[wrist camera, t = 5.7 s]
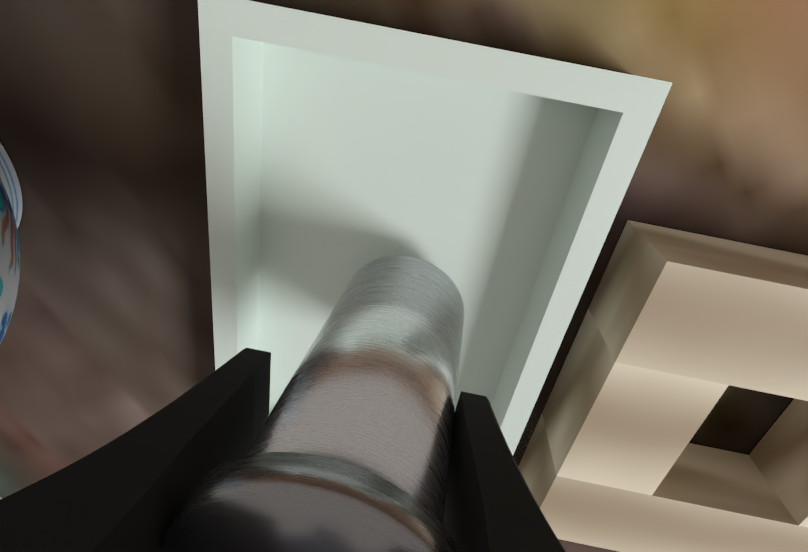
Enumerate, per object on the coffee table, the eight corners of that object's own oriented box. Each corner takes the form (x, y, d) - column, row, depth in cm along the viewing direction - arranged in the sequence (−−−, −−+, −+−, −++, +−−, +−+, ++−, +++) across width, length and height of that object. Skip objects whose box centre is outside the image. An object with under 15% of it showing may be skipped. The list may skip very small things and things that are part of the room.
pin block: (782, 521, 20) (833, 595, 17) (517, 467, 20) (527, 532, 17) (1002, 294, 14) (1130, 353, 11) (627, 220, 14) (667, 260, 11)
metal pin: (459, 382, 16) (427, 709, 8) (328, 350, 16) (176, 632, 8) (493, 262, 13) (495, 558, 6) (340, 229, 14) (143, 462, 6)
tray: (485, 460, 20) (488, 512, 18) (245, 411, 20) (219, 457, 18) (633, 75, 12) (672, 82, 10) (243, -1, 12) (196, -10, 10)
